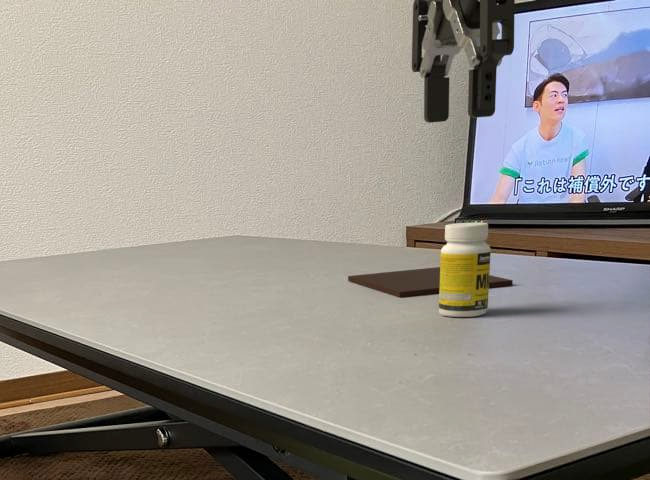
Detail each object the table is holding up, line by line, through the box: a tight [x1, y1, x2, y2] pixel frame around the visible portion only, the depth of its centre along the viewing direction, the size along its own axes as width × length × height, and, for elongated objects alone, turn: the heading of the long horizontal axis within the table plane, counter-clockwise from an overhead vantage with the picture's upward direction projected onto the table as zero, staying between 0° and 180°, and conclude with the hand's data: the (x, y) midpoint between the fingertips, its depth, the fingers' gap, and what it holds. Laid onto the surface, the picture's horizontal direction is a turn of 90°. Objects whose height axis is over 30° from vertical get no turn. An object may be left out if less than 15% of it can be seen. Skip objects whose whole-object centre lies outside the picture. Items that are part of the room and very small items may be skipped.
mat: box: [347, 266, 513, 298], centre depth 109 cm, size 14×16×1 cm
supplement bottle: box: [438, 221, 492, 318], centre depth 87 cm, size 5×5×8 cm
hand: (457, 119), depth 81 cm, fingers open, 8 cm apart
